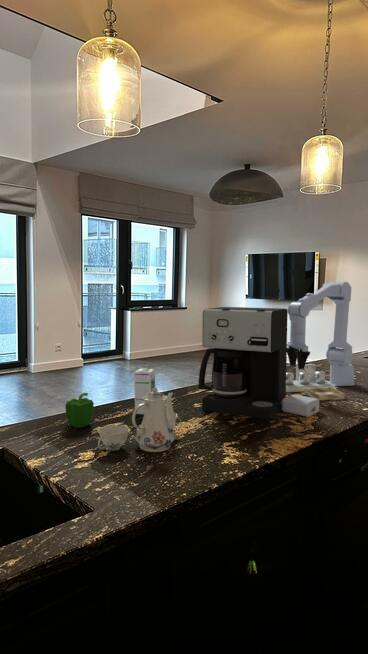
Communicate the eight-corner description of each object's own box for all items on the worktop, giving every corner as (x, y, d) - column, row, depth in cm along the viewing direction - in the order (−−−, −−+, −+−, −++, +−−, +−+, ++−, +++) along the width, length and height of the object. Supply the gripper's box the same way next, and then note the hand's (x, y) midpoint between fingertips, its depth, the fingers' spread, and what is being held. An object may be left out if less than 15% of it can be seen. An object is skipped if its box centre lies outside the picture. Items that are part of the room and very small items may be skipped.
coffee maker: (190, 409, 156) (190, 308, 153) (213, 396, 173) (214, 305, 170) (269, 420, 143) (271, 310, 140) (285, 405, 160) (287, 307, 157)
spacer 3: (322, 381, 190) (322, 371, 190) (327, 383, 186) (327, 373, 186) (312, 381, 190) (312, 371, 189) (317, 384, 185) (317, 373, 185)
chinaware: (161, 430, 139) (157, 377, 138) (204, 436, 128) (200, 378, 127) (88, 457, 117) (83, 394, 117) (133, 467, 106) (127, 398, 106)
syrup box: (151, 415, 149) (151, 371, 148) (134, 414, 150) (133, 371, 149) (155, 410, 155) (155, 368, 153) (139, 409, 156) (139, 367, 154)
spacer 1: (290, 382, 188) (291, 372, 187) (295, 385, 184) (295, 374, 183) (280, 383, 187) (281, 372, 187) (285, 385, 183) (285, 374, 182)
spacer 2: (306, 382, 189) (306, 371, 189) (311, 384, 185) (311, 373, 184) (296, 382, 188) (296, 371, 188) (301, 384, 184) (301, 374, 184)
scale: (319, 383, 196) (320, 363, 196) (334, 390, 184) (335, 369, 183) (271, 385, 192) (272, 365, 192) (283, 392, 180) (284, 371, 179)
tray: (330, 392, 180) (330, 387, 180) (345, 399, 169) (345, 393, 169) (304, 393, 178) (304, 388, 178) (317, 400, 167) (317, 395, 167)
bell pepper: (66, 431, 133) (65, 397, 132) (65, 422, 141) (64, 391, 140) (95, 428, 135) (94, 396, 134) (93, 420, 143) (92, 389, 142)
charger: (279, 403, 163) (319, 411, 153) (266, 409, 156) (306, 417, 146) (280, 390, 162) (319, 398, 153) (266, 395, 156) (307, 403, 146)
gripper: (280, 331, 182) (280, 364, 183) (296, 335, 168) (295, 371, 169) (297, 330, 183) (296, 363, 185) (313, 334, 169) (312, 370, 170)
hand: (296, 367), depth 177 cm, fingers open, 7 cm apart
